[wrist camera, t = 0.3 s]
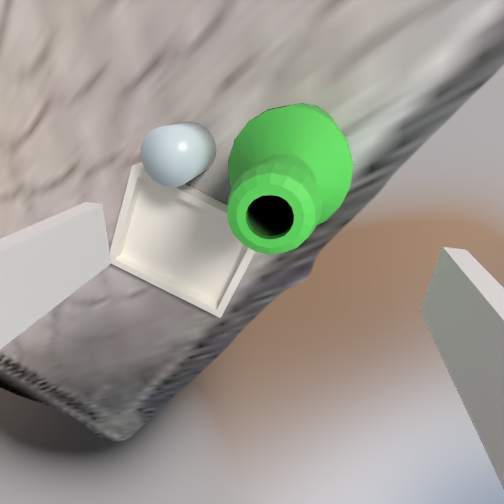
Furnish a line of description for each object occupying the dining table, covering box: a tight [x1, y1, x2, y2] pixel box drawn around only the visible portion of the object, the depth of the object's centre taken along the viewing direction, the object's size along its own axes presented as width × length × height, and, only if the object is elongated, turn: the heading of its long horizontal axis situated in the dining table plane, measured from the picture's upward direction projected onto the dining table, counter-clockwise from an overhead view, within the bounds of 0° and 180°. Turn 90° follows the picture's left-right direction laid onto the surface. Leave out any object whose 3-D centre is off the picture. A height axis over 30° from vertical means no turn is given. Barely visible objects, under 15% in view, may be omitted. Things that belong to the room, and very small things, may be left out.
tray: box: [110, 162, 255, 318], centre depth 43 cm, size 18×15×2 cm
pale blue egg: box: [141, 122, 216, 187], centre depth 36 cm, size 6×6×7 cm
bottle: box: [227, 103, 353, 254], centre depth 25 cm, size 9×9×25 cm
